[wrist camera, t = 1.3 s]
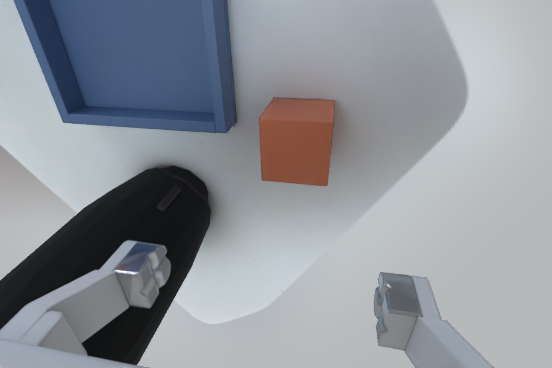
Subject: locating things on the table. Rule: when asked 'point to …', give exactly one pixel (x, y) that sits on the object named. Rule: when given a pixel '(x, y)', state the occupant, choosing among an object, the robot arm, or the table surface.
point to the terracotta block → (296, 140)
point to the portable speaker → (104, 243)
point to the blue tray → (135, 61)
